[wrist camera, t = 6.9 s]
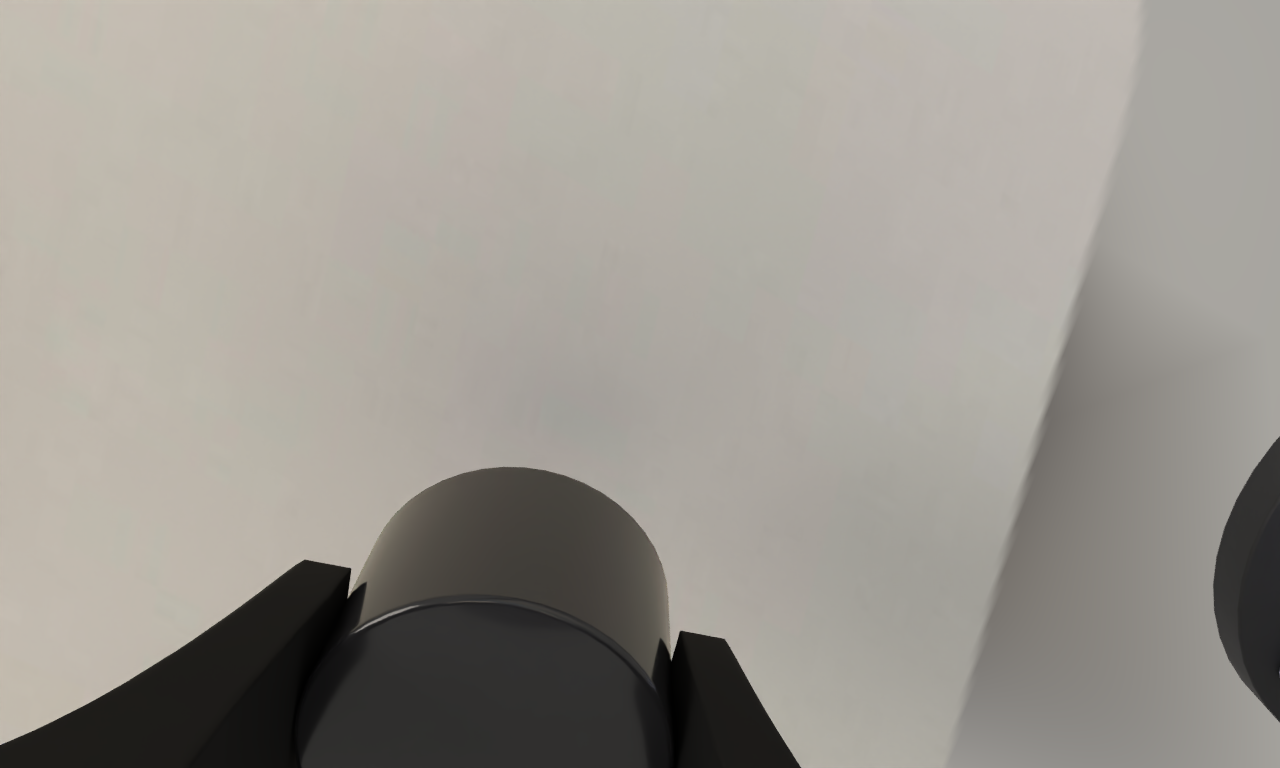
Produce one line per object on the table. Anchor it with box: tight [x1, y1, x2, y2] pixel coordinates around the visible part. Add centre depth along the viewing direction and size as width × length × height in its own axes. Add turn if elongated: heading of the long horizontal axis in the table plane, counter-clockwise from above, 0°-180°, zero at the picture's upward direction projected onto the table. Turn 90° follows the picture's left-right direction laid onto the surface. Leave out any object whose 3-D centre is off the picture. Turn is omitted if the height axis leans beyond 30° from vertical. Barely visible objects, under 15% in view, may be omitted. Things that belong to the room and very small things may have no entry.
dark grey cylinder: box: [294, 467, 675, 768], centre depth 12 cm, size 4×4×3 cm
